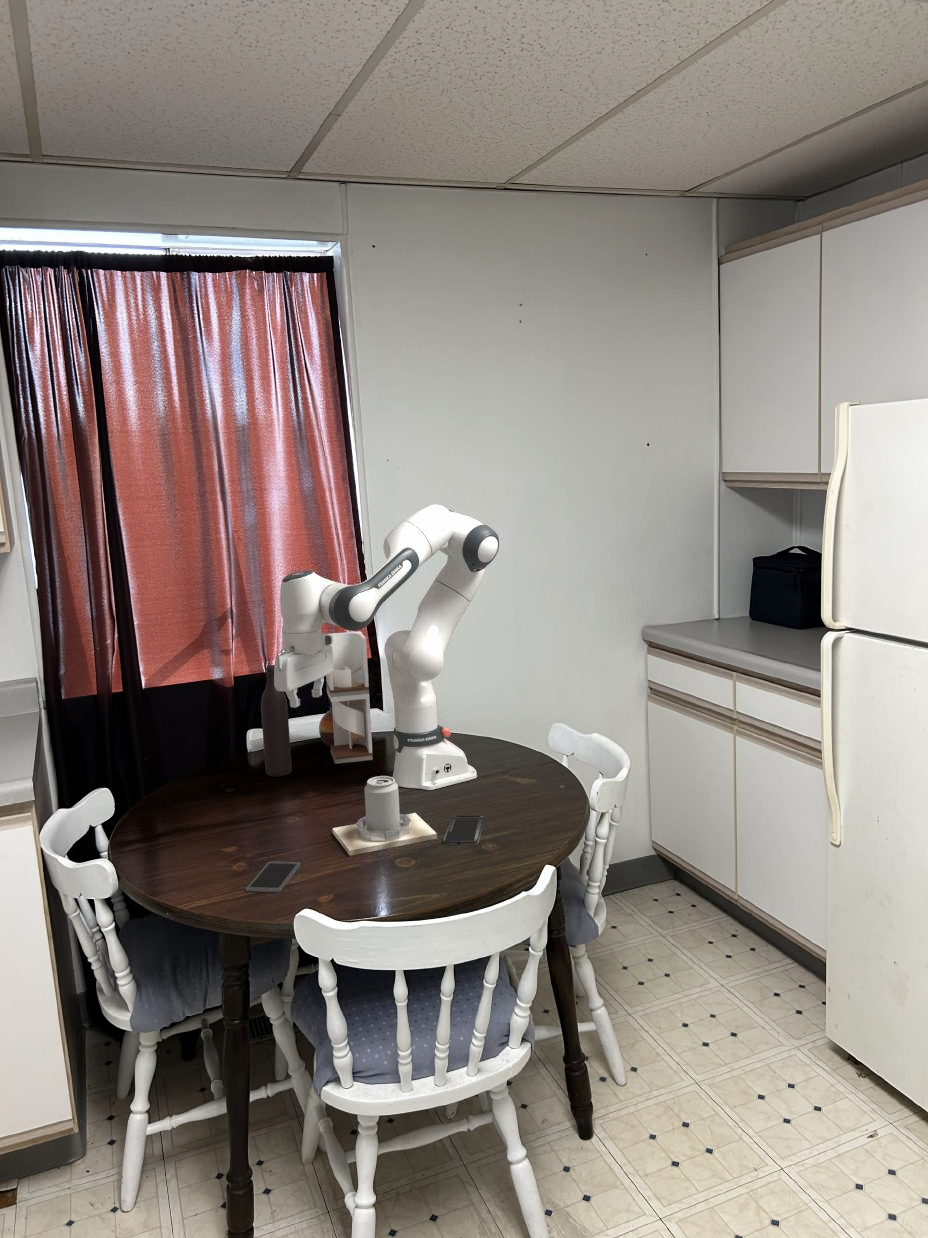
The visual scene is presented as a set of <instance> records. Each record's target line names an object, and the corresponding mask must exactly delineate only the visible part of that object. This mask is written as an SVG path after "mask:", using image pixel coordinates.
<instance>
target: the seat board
mask: <svg viewBox="0 0 928 1238" xmlns="http://www.w3.org/2000/svg"><path fill="white" fill-rule="evenodd" d="M405 815H407V816H408V817H409V818H410V819H411V831H410V833H409V834H408V835H406V836H404V837H402V838H400V839H396V840H391V841H385V842H383V841H368V840H365V839H361V838H360V837H359V836H358V835H357V834H356V823H355V824H354V823H353V824H348V825H344V826H338V827H333V828H332V834H333V836H334V837H335V838H336V840H337V841H338V842H339V843H340V845H341V846H342V848H343V849H344V851H346V852H347V854H348V855H349V856H356V855H357V856H358V855H360V854H366V853H367V854H368V853H372V852H376V851H381V850H386V849H391V848H397V847H401V846H405V845H406V846H407V845H410V844H417V843H421V842H425V841H426V842H427V841H431V840H436V839H438V836H437V835H438V833H437V832H436V831H435V830H434V829H433V828H432V827H430V825H429V824H428V823H427V822H425V821H424V820H423V819H422V818H421V817H420V816H419V815H418V813H416V812H413V813H406V814H405ZM401 826H403V825H402V824H400V827H401ZM364 829H367V827H365V828H364Z"/></svg>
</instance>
